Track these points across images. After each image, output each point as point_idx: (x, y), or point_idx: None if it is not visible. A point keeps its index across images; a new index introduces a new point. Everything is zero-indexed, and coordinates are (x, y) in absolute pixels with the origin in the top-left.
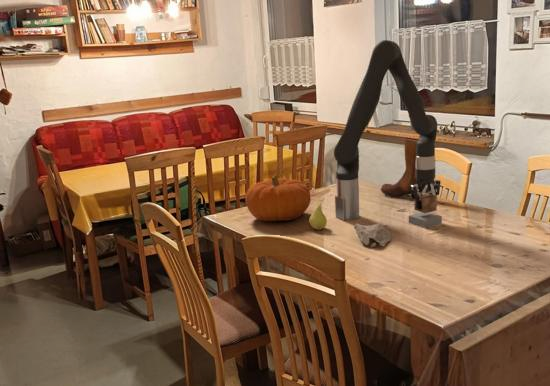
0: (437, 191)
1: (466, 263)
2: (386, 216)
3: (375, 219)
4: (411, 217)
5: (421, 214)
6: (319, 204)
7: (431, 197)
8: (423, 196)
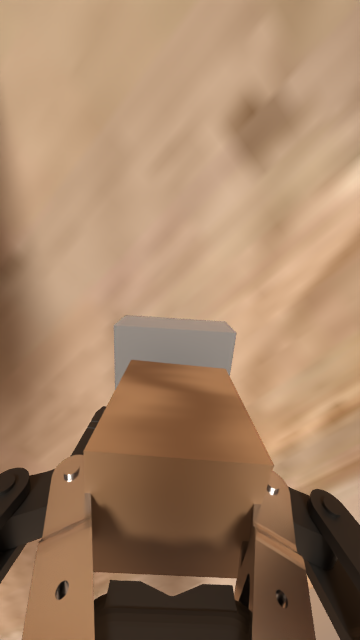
0: (322, 596)
1: (22, 591)
2: (112, 146)
3: (25, 138)
4: (116, 342)
5: (175, 358)
6: None
7: (170, 568)
8: (131, 527)
